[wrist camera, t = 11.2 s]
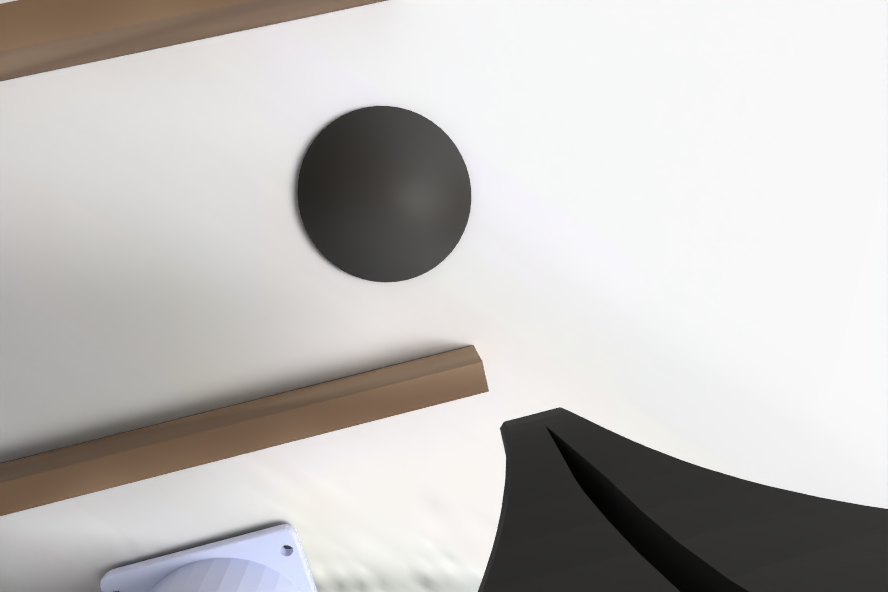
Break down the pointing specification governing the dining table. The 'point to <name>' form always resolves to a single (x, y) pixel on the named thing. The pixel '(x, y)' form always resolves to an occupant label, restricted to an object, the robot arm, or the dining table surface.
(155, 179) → the dining table surface
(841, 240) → the dining table surface
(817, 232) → the dining table surface
